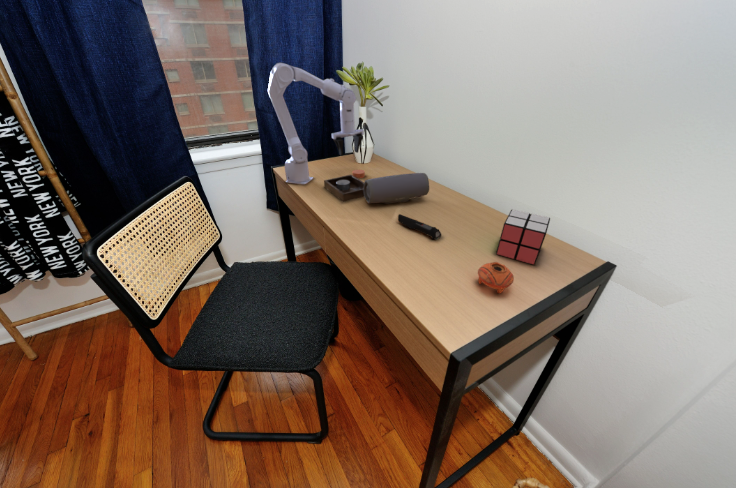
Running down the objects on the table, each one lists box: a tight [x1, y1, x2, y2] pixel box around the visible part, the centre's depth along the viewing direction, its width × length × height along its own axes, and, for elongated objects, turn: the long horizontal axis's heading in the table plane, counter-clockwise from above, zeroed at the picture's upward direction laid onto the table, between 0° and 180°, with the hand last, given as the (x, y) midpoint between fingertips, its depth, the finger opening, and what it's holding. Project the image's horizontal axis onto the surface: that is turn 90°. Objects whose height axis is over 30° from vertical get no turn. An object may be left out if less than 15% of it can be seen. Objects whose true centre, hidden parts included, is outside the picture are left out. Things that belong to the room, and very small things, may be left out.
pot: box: [477, 261, 515, 294], centre depth 73 cm, size 8×8×7 cm
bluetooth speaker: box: [363, 172, 430, 205], centre depth 113 cm, size 23×9×10 cm, turn 108°
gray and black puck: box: [336, 180, 350, 190], centre depth 125 cm, size 6×6×2 cm
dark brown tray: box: [323, 174, 365, 203], centre depth 122 cm, size 17×13×3 cm
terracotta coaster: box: [351, 169, 366, 179], centre depth 136 cm, size 6×6×2 cm
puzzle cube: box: [495, 209, 551, 266], centre depth 84 cm, size 10×10×10 cm
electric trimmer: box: [397, 213, 442, 241], centre depth 96 cm, size 4×16×3 cm, turn 45°
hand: (348, 153), depth 135 cm, fingers open, 7 cm apart
